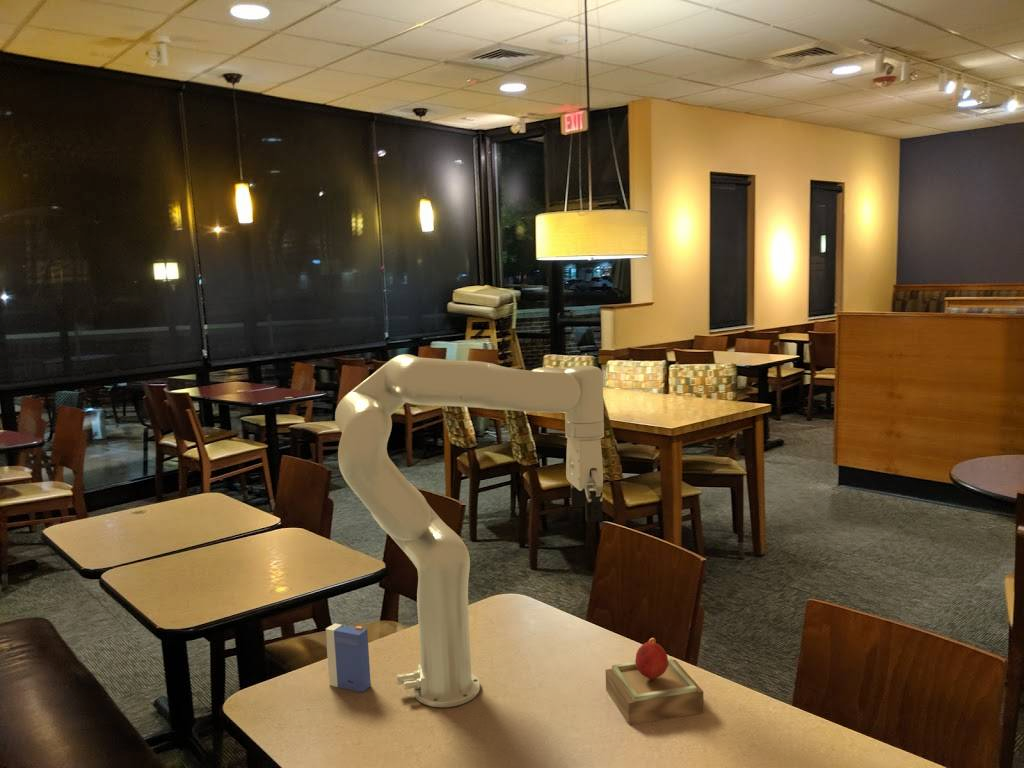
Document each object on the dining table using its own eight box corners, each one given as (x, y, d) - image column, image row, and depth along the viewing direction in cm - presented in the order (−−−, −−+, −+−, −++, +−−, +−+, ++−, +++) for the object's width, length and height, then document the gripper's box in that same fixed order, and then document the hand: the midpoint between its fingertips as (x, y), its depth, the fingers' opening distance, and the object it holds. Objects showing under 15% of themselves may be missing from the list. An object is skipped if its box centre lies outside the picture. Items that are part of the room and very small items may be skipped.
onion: (643, 690, 140) (643, 647, 139) (630, 674, 146) (630, 633, 145) (673, 684, 142) (673, 642, 141) (659, 669, 147) (659, 629, 146)
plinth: (628, 724, 137) (628, 698, 136) (605, 689, 149) (605, 665, 148) (703, 712, 140) (703, 687, 139) (675, 679, 151) (675, 655, 151)
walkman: (371, 685, 153) (367, 627, 151) (362, 692, 150) (358, 633, 149) (337, 678, 156) (333, 621, 154) (329, 685, 154) (324, 627, 152)
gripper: (554, 422, 162) (556, 503, 165) (579, 439, 145) (581, 529, 148) (589, 420, 164) (590, 500, 166) (618, 436, 147) (619, 525, 149)
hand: (586, 513), depth 157 cm, fingers open, 9 cm apart
